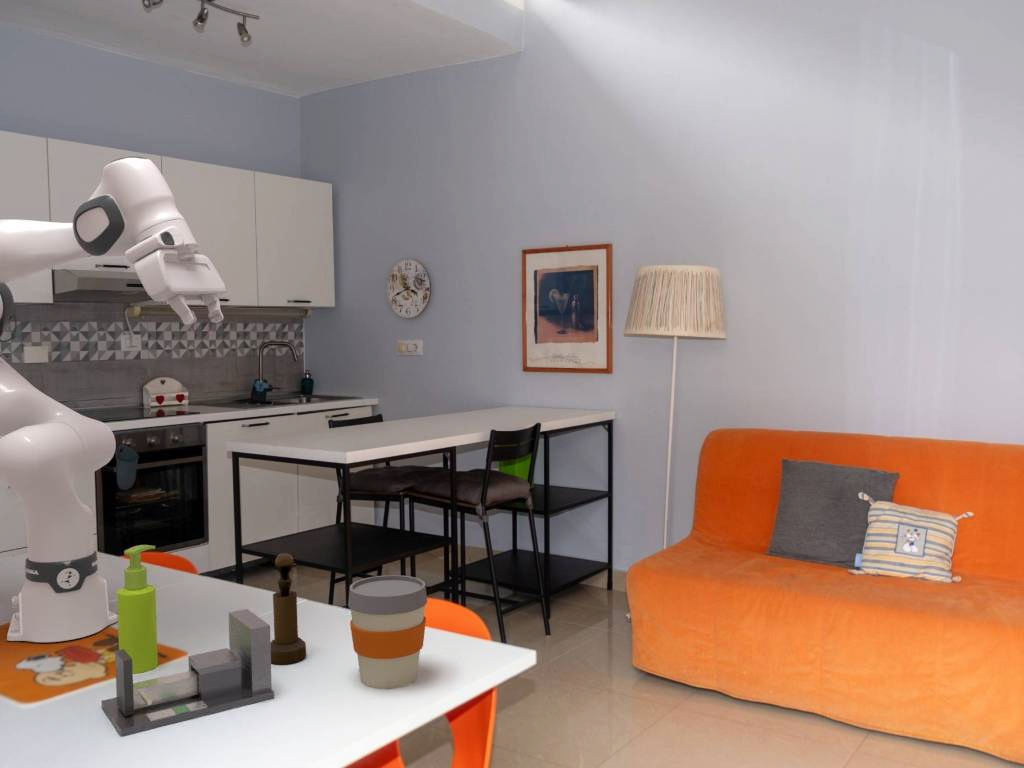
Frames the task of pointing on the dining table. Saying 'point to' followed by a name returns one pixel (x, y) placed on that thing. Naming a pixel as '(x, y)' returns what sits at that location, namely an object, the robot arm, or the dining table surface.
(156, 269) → the robot arm
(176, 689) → the plunger
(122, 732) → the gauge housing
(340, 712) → the dining table surface
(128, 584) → the soap dispenser
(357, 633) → the reusable coffee cup
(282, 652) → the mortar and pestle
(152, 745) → the dining table surface
